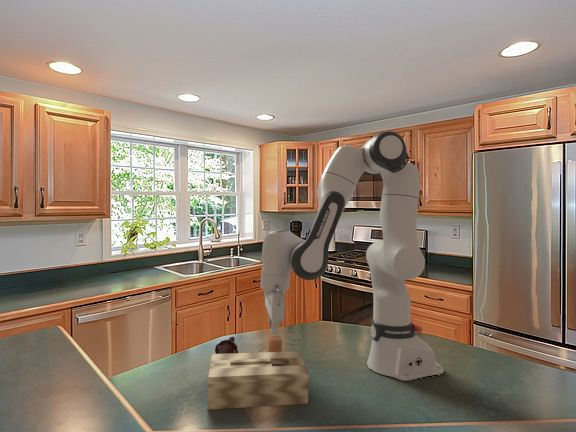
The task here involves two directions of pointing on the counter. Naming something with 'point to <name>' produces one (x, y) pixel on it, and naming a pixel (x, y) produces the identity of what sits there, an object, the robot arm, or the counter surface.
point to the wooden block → (274, 344)
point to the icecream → (226, 347)
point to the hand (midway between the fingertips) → (272, 328)
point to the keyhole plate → (257, 380)
